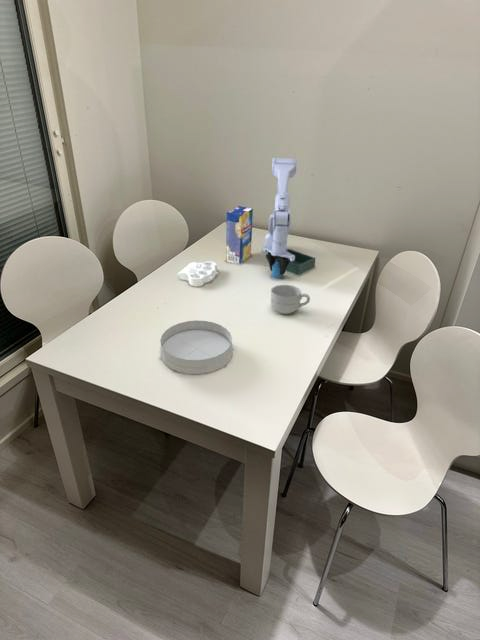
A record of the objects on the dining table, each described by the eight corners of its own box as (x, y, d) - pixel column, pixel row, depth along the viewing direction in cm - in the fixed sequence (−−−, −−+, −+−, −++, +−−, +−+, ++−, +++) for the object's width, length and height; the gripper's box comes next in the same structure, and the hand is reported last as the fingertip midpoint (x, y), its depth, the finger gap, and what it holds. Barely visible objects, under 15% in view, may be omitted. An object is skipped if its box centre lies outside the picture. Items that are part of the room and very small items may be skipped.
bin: (270, 266, 198) (271, 256, 196) (287, 258, 206) (288, 248, 203) (298, 276, 190) (299, 266, 187) (314, 267, 198) (315, 257, 195)
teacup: (264, 312, 164) (266, 292, 159) (277, 299, 172) (278, 280, 168) (301, 322, 158) (303, 302, 154) (311, 309, 167) (314, 289, 162)
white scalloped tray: (193, 265, 197) (224, 271, 192) (173, 282, 182) (207, 289, 178) (193, 258, 195) (224, 263, 191) (173, 274, 180) (207, 281, 176)
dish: (196, 325, 155) (195, 313, 152) (246, 350, 143) (247, 337, 140) (145, 354, 140) (144, 340, 137) (197, 384, 128) (197, 370, 125)
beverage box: (250, 256, 207) (252, 208, 195) (239, 264, 198) (241, 215, 187) (237, 252, 209) (238, 205, 198) (226, 261, 201) (226, 212, 190)
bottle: (269, 277, 188) (270, 258, 184) (276, 274, 191) (277, 255, 187) (278, 280, 186) (279, 262, 181) (284, 277, 189) (286, 258, 184)
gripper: (259, 238, 182) (257, 269, 189) (288, 248, 174) (285, 280, 181) (270, 234, 186) (268, 264, 193) (299, 243, 178) (296, 275, 185)
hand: (277, 272), depth 187 cm, fingers closed on bottle, 4 cm apart
